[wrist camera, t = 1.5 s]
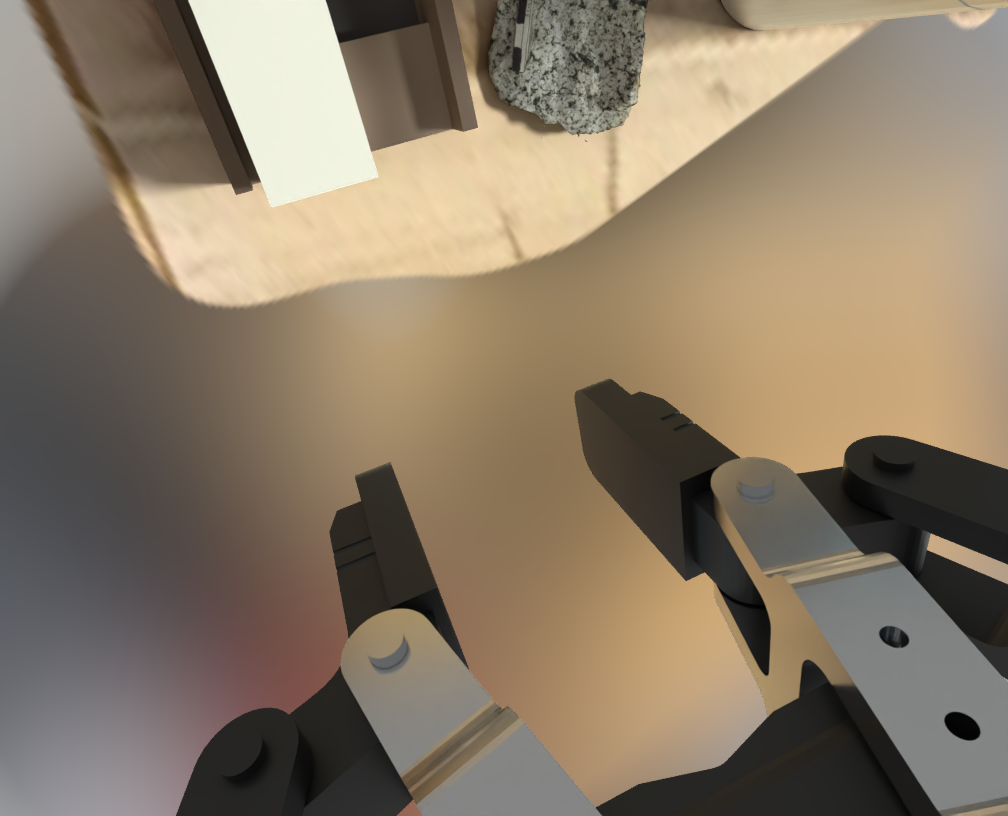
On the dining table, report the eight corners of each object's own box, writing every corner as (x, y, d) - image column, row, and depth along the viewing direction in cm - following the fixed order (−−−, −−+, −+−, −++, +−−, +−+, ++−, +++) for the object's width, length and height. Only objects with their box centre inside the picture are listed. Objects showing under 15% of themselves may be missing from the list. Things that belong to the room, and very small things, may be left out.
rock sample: (457, -49, 28) (644, -21, 26) (519, -105, 32) (684, -84, 30) (471, 155, 37) (612, 188, 35) (517, 91, 41) (646, 117, 39)
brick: (275, -82, 27) (285, -135, 20) (351, 157, 32) (378, 177, 25) (170, -61, 26) (144, -110, 19) (266, 180, 31) (271, 207, 24)
